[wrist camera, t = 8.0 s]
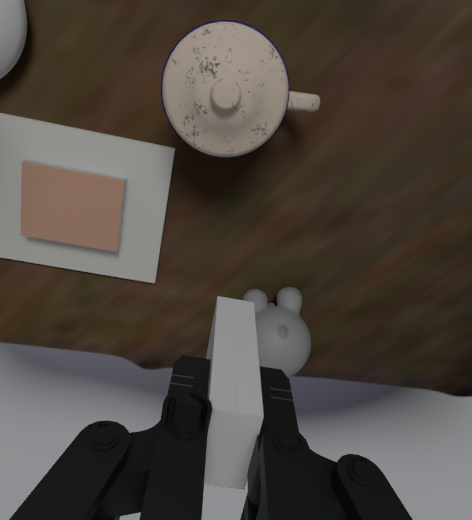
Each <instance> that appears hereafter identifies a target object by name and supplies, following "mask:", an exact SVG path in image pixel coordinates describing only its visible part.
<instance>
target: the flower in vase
mask: <svg viewBox="0 0 472 520" xmlns="http://www.w3.org/2000/svg"><path fill="white" fill-rule="evenodd" d="M26 35H27V15H26V8H25V3H24V0H0V79H1V78H2V77H4V76H5V75H6V74H7V73H8V72H9V71H10V70H11V69H12V68H13V67H14V66H15V64H16V63H17V61H18V59H19V57H20V55H21V53H22V51H23V48H24V45H25V40H26Z"/></svg>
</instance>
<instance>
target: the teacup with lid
mask: <svg viewBox="0 0 472 520" xmlns="http://www.w3.org/2000/svg"><path fill="white" fill-rule="evenodd" d="M161 96H162V103H163V107H164V111H165V113H166V116H167V118H168V121H169V123H170V124H171V126H172V128H173V129H174V131H175V132H176V133H177V135H178V136H179V137H180V138H181V139H182V140H183V141H184V142H185V143H186V144H188V145H189V146H190V147H192V148H193V149H195V150H197V151H199V152H201V153H203V154H206V155H209V156H213V157H218V158H233V157H239V156H243V155H246V154H249V153H251V152H253V151H255V150H257V149H258V148H260V147H261V146H263V145H264V144H265V143H266V142H267V141H269V139H270V138H271V137H272V136H273V135H274V134H275V133H276V131H277V130H278V128H279V127H280V125H281V123H282V121H283V119H284V116H285V114H286V110H287V109H289V110H297V111H306V112H315V111H317V110H318V109H319V105H320V97H319V96H317V95H314V94H307V93H300V92H293V91H290V87H289V78H288V73H287V69H286V66H285V63H284V60H283V58H282V56H281V54H280V53H279V51H278V49H277V48H276V47H275V45H274V44H273V43H272V42H271V41H270V39H269V38H267V37H266V36H265V35H264V34H263V33H261V32H260V31H259V30H257V29H255V28H254V27H252V26H250V25H247V24H244V23H241V22H237V21H231V20H218V21H212V22H208V23H205V24H202V25H200V26H198V27H196V28H194V29H193V30H191V31H190V32H188V33H187V34H186V35H185V36H183V37H182V38H181V39H180V40H179V41H178V43H177V44H176V45H175V46H174V48H173V49H172V51H171V53H170V55H169V57H168V59H167V61H166V64H165V67H164V70H163V74H162V81H161Z"/></svg>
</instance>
